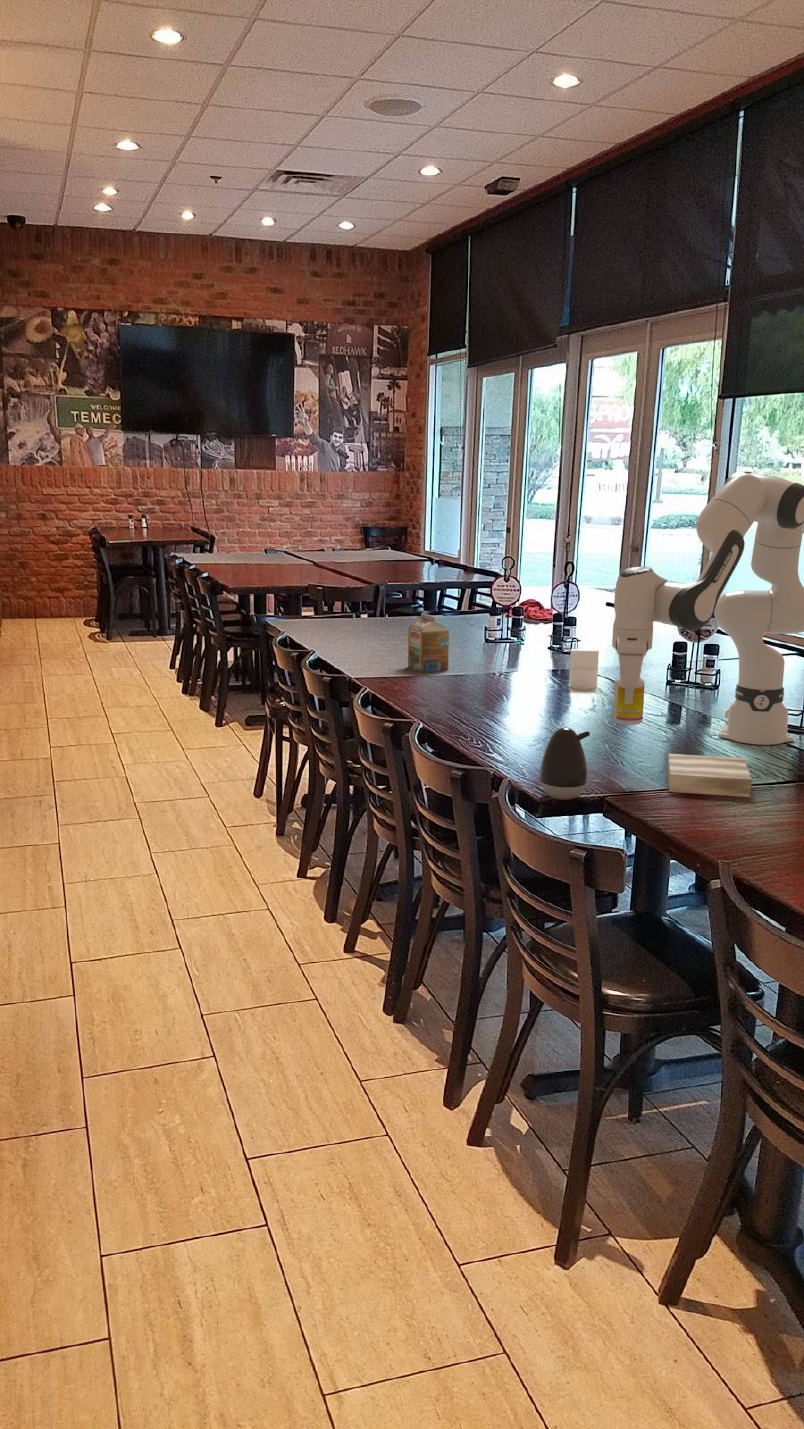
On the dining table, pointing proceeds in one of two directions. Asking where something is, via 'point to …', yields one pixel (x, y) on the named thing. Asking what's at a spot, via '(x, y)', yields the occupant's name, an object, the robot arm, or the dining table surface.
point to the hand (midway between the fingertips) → (629, 699)
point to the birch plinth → (708, 775)
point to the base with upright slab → (583, 668)
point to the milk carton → (428, 645)
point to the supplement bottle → (625, 711)
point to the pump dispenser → (564, 765)
